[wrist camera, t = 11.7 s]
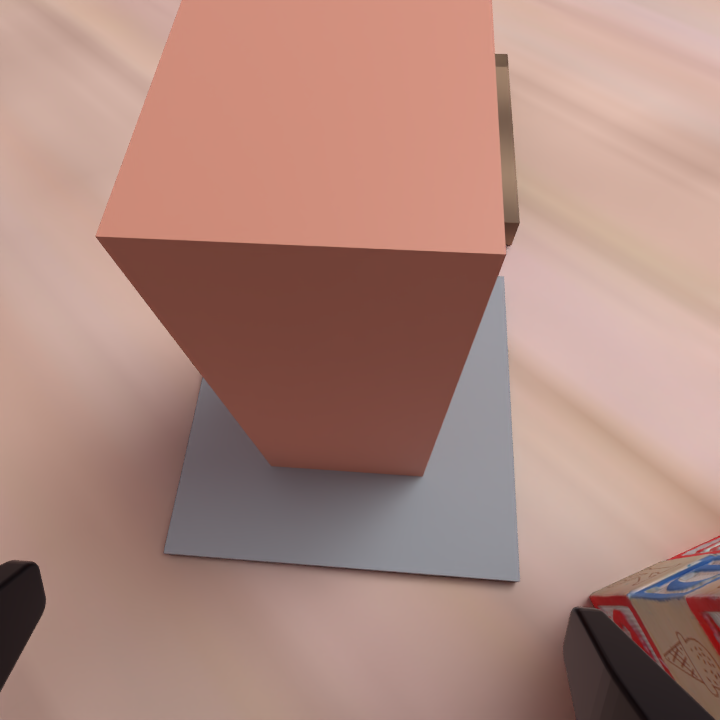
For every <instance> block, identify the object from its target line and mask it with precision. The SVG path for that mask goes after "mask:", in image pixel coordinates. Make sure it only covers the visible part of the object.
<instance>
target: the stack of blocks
mask: <svg viewBox="0 0 720 720" xmlns="http://www.w3.org/2000/svg"><path fill="white" fill-rule="evenodd" d="M590 599H591V601H592V603H593V605H594V607H595V608H597V609H600V610H601V611H603V612H604V613H605V614H606V615H607V616H608V617H609V618H610V619H611V620H612V621H614V622H615V623H616V624H617V625H618V626H619V627H620V628H621V629H622V630H623V631H624V632H625V633H626V634H627V635H628V636H629V637H630V638H631V639H632V640H633V641H634V642H635V643H636V644H637V645H639V646H640V647H641V648H642V649H643V650H644V651H645V652H646V653H647V654H648V655H649V656H650V657H651V658H652V659H653V660H654V661H655V662H656V663H657V664H658V665H659V666H660V667H661V668H662V669H664V670H665V671H666V672H667V673H668V674H669V675H670V676H671V677H672V678H673V679H674V680H675V681H676V682H677V683H678V684H679V685H680V686H681V687H682V688H683V689H684V690H685V691H686V692H688V693H689V694H690V695H691V696H692V697H693V698H694V699H695V700H696V701H697V702H698V703H699V704H700V705H701V706H702V707H703V708H704V709H705V710H706V711H707V712H708V713H709V714H710V715H711V716H713V717H714V718H715V719H716V720H720V536H718V537H716V538H714V539H712V540H710V541H708V542H705V543H703V544H701V545H699V546H696V547H694V548H692V549H690V550H688V551H686V552H683V553H681V554H679V555H677V556H675V557H673V558H671V559H668V560H666V561H662V562H659V563H657V564H655V565H653V566H651V567H648V568H646V569H644V570H642V571H640V572H637V573H635V574H633V575H631V576H629V577H626V578H624V579H622V580H620V581H618V582H615V583H613V584H611V585H609V586H607V587H605V588H602V589H600V590H598V591H596V592H594V593H592V594H591V595H590Z"/></svg>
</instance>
